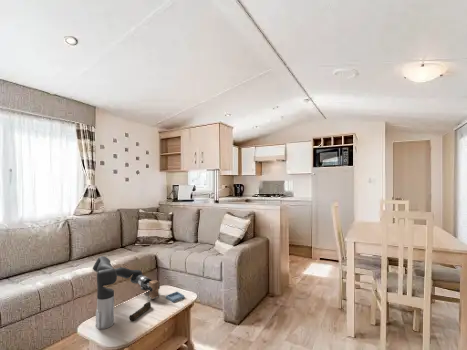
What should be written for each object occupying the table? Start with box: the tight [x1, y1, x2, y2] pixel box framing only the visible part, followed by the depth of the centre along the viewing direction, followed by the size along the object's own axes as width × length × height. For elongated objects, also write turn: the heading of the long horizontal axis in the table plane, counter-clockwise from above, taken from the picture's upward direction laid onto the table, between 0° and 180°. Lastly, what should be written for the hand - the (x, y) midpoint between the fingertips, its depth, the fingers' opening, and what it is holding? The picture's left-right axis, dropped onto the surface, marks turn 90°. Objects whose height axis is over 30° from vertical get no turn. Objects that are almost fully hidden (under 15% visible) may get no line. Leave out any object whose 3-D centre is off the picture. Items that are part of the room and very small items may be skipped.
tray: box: [165, 291, 185, 303], centre depth 190 cm, size 10×10×2 cm
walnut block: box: [148, 279, 160, 300], centre depth 189 cm, size 5×5×11 cm
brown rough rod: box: [128, 301, 152, 322], centre depth 168 cm, size 19×4×5 cm, turn 159°
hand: (155, 288), depth 187 cm, fingers closed on walnut block, 5 cm apart
